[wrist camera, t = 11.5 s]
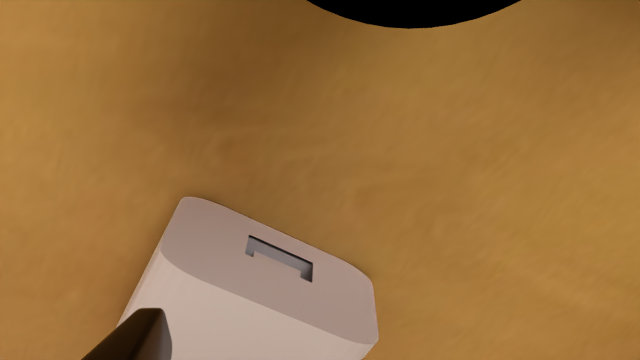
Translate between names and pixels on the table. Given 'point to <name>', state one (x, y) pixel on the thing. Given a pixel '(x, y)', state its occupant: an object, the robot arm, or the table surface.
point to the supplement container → (412, 11)
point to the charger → (253, 291)
